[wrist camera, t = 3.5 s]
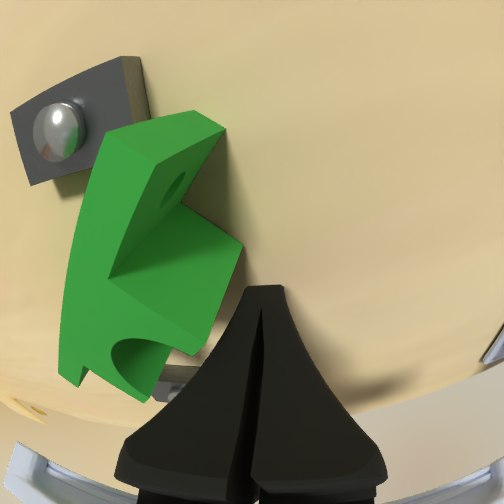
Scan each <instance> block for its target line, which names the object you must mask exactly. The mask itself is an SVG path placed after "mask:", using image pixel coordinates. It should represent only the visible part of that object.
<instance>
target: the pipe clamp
mask: <svg viewBox="0 0 504 504" xmlns="http://www.w3.org/2000/svg"><path fill="white" fill-rule="evenodd" d="M225 129H226V128H224V127H222V126H221V125H219V124H217V123H216V122H214V121H212V120H210V119H209V118H207V117H205V116H204V115H202V114H200V113H198V112H197V111H195V110H192V111H187V112H182V113H177V114H173V115H168V116H164V117H159V118H155V119H151V120H147V121H143V122H139V123H136V124H132V125H128V126H125V127H121V128H118V129H115V130H111V131H108V132H106V134H105V136H104V139H103V141H102V144H101V147H100V149H99V152H98V155H97V158H96V160H95V163H94V166H93V169H92V172H91V175H90V178H89V182H88V185H87V188H86V191H85V195H84V198H83V202H82V206H81V209H80V213H79V217H78V221H77V225H76V229H75V234H74V238H73V243H72V248H71V253H70V258H69V263H68V269H67V275H66V281H65V288H64V296H63V304H62V313H61V324H60V338H59V361H58V374H60V375H61V376H62V377H64V378H65V379H66V380H68V381H69V382H71V383H72V384H73V385H75V386H76V387H79V386H80V384H81V382H82V381H83V379H84V377H85V376H86V374H87V372H88V371H89V370H91V371H92V372H94V373H95V374H97V375H98V376H100V377H101V378H103V379H104V380H106V381H107V382H109V383H110V384H112V385H114V386H115V387H117V388H118V389H120V390H122V391H123V392H125V393H127V394H128V395H130V396H132V397H134V398H135V399H137V400H139V401H141V402H142V403H145V402H146V401H147V400H148V399H149V398H150V396H151V394H152V391H153V389H154V387H155V385H156V382H157V380H158V378H159V376H160V374H161V371H162V369H163V367H164V365H165V363H166V361H167V358H168V356H169V354H170V352H171V350H172V348H176V349H178V350H180V351H182V352H185V353H187V354H188V355H190V356H192V357H193V356H194V355H195V354H196V353H197V352H198V351H199V350H200V349H201V348H202V347H203V346H204V345H205V344H206V342H207V339H208V337H209V334H210V331H211V329H212V326H213V323H214V321H215V318H216V315H217V313H218V310H219V307H220V305H221V302H222V300H223V297H224V294H225V292H226V289H227V286H228V284H229V281H230V278H231V276H232V273H233V271H234V268H235V265H236V263H237V260H238V258H239V255H240V252H241V250H242V247H243V244H242V243H240V242H239V241H237V240H236V239H234V238H233V237H231V236H230V235H228V234H227V233H225V232H224V231H222V230H221V229H219V228H218V227H216V226H215V225H213V224H212V223H211V222H209V221H208V220H206V219H205V218H203V217H202V216H200V215H199V214H197V213H196V212H194V211H193V210H191V209H190V208H188V207H187V206H185V205H184V204H182V203H181V200H182V199H183V197H184V195H185V193H186V192H187V190H188V188H189V187H190V185H191V183H192V182H193V180H194V178H195V177H196V175H197V173H198V172H199V170H200V168H201V167H202V165H203V163H204V162H205V160H206V159H207V157H208V155H209V154H210V152H211V151H212V149H213V148H214V146H215V144H216V143H217V141H218V140H219V138H220V137H221V135H222V134H223V132H224V131H225Z"/></svg>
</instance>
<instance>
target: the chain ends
mask: <svg viewBox="0 0 504 504" xmlns="http://www.w3.org/2000/svg"><path fill="white" fill-rule="evenodd" d="M10 114H11V119H12V124H13V128H14V132H15V136H16V140H17V144H18V147H19V151H20V154H21V158H22V161H23V164H24V167H25V171H26V174H27V177H28V180H29V183H30V185H31V186H33V185H36V184H39V183H42V182H45V181H48V180H51V179H54V178H57V177H60V176H64V175H67V174H70V173H74V172H77V171H81V170H84V169H88V168H92V167H93V166H94V163H95V160H96V158H97V155H98V152H99V149H100V147H101V144H102V141H103V139H104V136H105V134H106V132H108V131H111V130H115V129H118V128H121V127H125V126H128V125H132V124H136V123H139V122H143V121H147V120H151V118H150V113H149V108H148V102H147V97H146V92H145V86H144V81H143V75H142V69H141V63H140V57H136V56H120V57H117V58H115V59H112V60H110V61H107V62H104V63H102V64H100V65H97V66H95V67H92V68H90V69H88V70H86V71H83V72H81V73H79V74H77V75H75V76H73V77H71V78H69V79H67V80H65V81H63V82H61V83H59V84H57V85H55V86H53V87H51V88H49V89H48V90H46V91H44V92H42V93H40V94H39V95H37V96H35V97H34V98H32V99H30V100H29V101H27V102H25V103H24V104H22V105H21V106H19V107H17V108H16V109H14V110H13V111H11V112H10ZM199 368H200V367H191V366H176V365H164V367H163V369H162V371H161V374H160V376H159V378H158V380H157V382H156V385H155V387H154V389H153V391H152V394H151V395H152V397H153V398H154V399H155V400H156V401H159V402H167V403H169V402H170V401H171V400H172V399H173V398H174V397H175V396H176V395H177V394H178V393H179V392H180V391H181V390H182V389H183V388H184V387H185V385H186V384H187V383H188V382H189V381H190V380H191V378H192V377H193V376H194V375H195V374H196V372H197V371H198V370H199Z"/></svg>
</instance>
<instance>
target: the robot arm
mask: <svg viewBox="0 0 504 504" xmlns="http://www.w3.org/2000/svg"><path fill="white" fill-rule="evenodd" d="M502 358H504V328H503V330H502V331H501V333H500V334H499V336H498V338H497V339H496V341H495V342H494V344H493V345H492V347H491V348H490V349H489V351H488V352H487V354H486V355H485V356H484V358H483V363H484V364H488V363H491V362H494V361H497V360H500V359H502ZM114 477H115V478H116V479H117V480H119V481H121V482H124V483H126V484H128V485H131V486H133V487H136V488H139V494H138V496H136V495H133V494H130V493H127V492H124V491H121V490H118V489H115V488H112V487H109V486H106V485H104V484H101V483H98V482H96V481H93V480H91V479H88V478H86V477H84V476H81V475H79V474H76V473H74V472H72V471H70V470H68V469H66V468H64V467H62V466H60V465H58V464H56V463H54V462H52V461H50V460H48V459H47V458H45V457H44V456H42V455H40V454H38V453H37V452H35V451H33V450H31V449H30V448H28V447H26V446H24V445H23V444H22V443H20V442H16V445H15V447H14V450H13V453H12V456H11V459H10V463H9V466H8V469H7V473H6V476H5V480H4V484H3V485H4V487H5V488H6V489H8V490H9V491H10V492H11V493H13V494H14V495H15V496H16V497H18V498H19V499H20V500H21V501H22V502H24V503H25V504H254V503H255V502H256V501H258V500H259V504H374V497H376V486H377V485H379V484H381V483H383V482H385V481H386V480H387V478H388V475H387V469H386V465H385V462H384V459H383V457H382V454H381V452H380V450H379V448H378V446H377V445H376V444H375V443H374V441H373V440H372V439H371V438H370V437H369V436H368V435H367V434H366V433H365V432H364V431H363V430H362V429H361V428H360V426H359V425H358V424H357V423H356V422H355V421H354V419H353V418H352V417H351V416H350V415H349V413H348V412H347V411H346V410H345V408H344V407H343V406H342V404H341V403H340V402H339V400H338V399H337V398H336V396H335V395H334V394H333V392H332V391H331V390H330V388H329V387H328V385H327V384H326V382H325V381H324V379H323V378H322V376H321V374H320V373H319V371H318V370H317V368H316V366H315V365H314V363H313V361H312V359H311V358H310V356H309V354H308V352H307V350H306V348H305V346H304V344H303V342H302V340H301V338H300V336H299V334H298V331H297V329H296V327H295V324H294V322H293V320H292V317H291V314H290V312H289V309H288V305H287V302H286V298H285V294H284V287H283V286H282V285H261V286H247V287H246V288H245V290H244V293H243V295H242V298H241V300H240V302H239V304H238V307H237V309H236V311H235V313H234V315H233V317H232V319H231V320H230V322H229V324H228V326H227V328H226V329H225V331H224V333H223V335H222V336H221V338H220V339H219V341H218V343H217V344H216V346H215V347H214V349H213V350H212V352H211V353H210V355H209V356H208V358H207V359H206V361H205V362H204V363H203V365H202V366H201V367H200V368H199V370H198V371H197V372H196V374H195V375H194V376H193V377H192V378H191V380H190V381H189V382H188V383H187V384H186V385H185V387H184V388H183V389H182V390H181V391H180V392H179V393H178V394H177V395H176V396H175V397H174V398H173V399H172V400H171V401H170V402H169V403H168V404H167V405H166V406H165V407H164V408H163V409H162V410H161V411H160V412H159V413H158V414H156V415H155V416H154V417H153V418H152V419H151V420H150V421H148V422H147V423H146V424H145V425H143V426H142V427H141V428H139V429H138V430H137V431H136V432H134V433H133V434H132V435H130V436H129V437H128V438H126V440H125V441H124V444H123V447H122V449H121V451H120V454H119V458H118V461H117V466H116V469H115V474H114ZM384 504H504V456H503V457H501V458H500V459H498V460H496V461H495V462H493V463H491V464H490V465H488V466H486V467H484V468H482V469H480V470H478V471H476V472H474V473H471V474H470V475H467V476H465V477H463V478H460V479H458V480H456V481H453V482H451V483H448V484H446V485H443V486H440V487H438V488H435V489H432V490H429V491H426V492H423V493H420V494H417V495H413V496H410V497H407V498H403V499H399V500H396V501H392V502H387V503H384Z"/></svg>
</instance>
